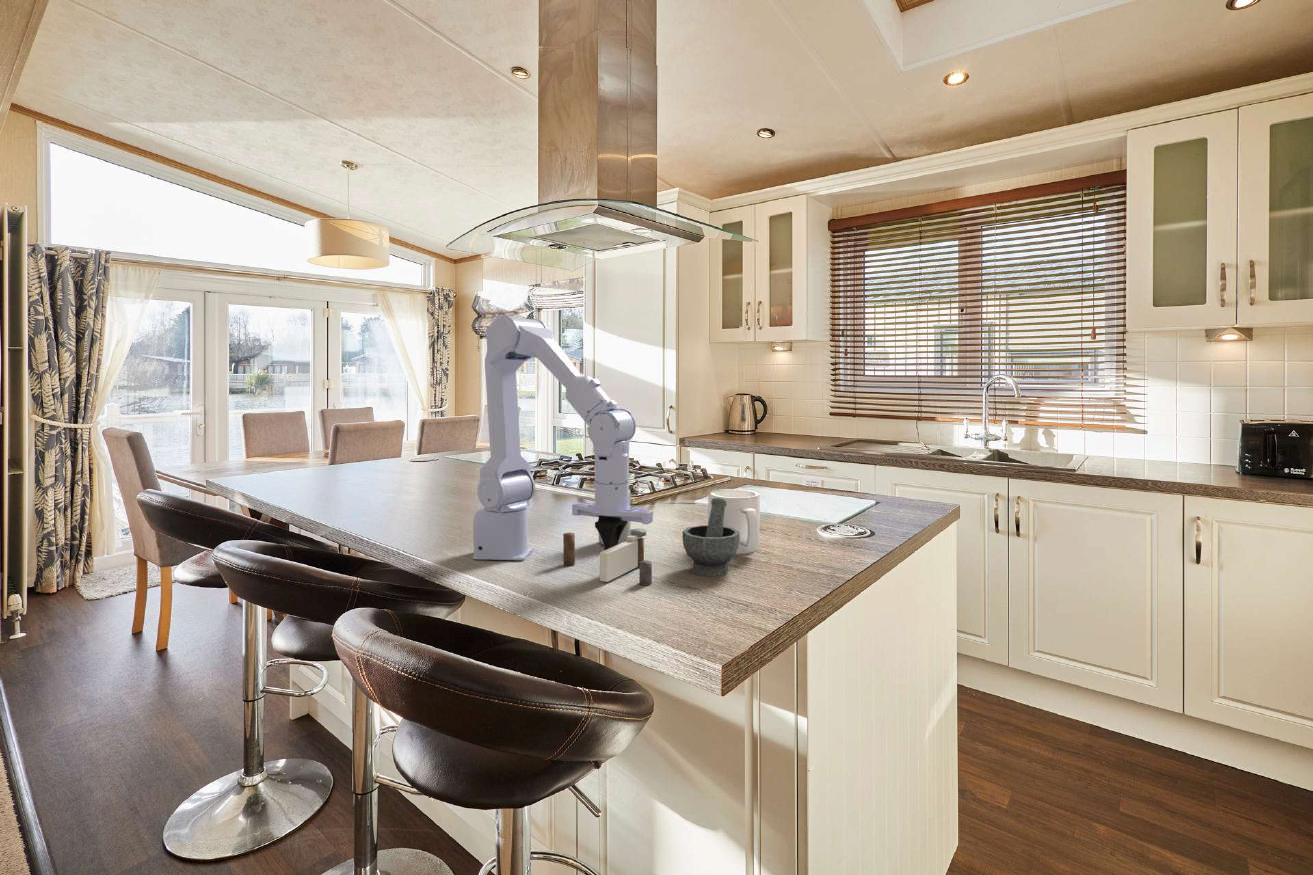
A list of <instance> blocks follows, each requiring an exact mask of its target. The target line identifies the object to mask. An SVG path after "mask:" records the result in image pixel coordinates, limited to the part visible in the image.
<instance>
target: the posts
mask: <svg viewBox="0 0 1313 875" xmlns="http://www.w3.org/2000/svg"><path fill="white" fill-rule="evenodd" d="M562 536H563V538H562V540H563V548H562V549H563V550H562V551H563V553H562V554H563V565H564V566H565V567H567V566H568V567H570V566H571V567H572V566H575V564H576V555H575V554H576V552H575V550H576V548H575V546H576V541H575V540H576V539H575V537H576V535H575V533H574V532H565V533H563V535H562ZM652 566H653V562H652V561H651V560H645V538H644V537H642V538H640V539H638V567H637V568H639V574H638V575H639V585H641V586H650V585H652V584H653V582H652V581H653V578H652V577H653V576H652V575H653V574H652V572H653V571H652V570H653V569H652V568H653V567H652Z"/></svg>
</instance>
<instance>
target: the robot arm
mask: <svg viewBox="0 0 1313 875" xmlns="http://www.w3.org/2000/svg"><path fill="white" fill-rule="evenodd" d="M485 334H486V337H485V338H486V354H485V358H484V373H485V374H484V375H485V389H486V390H485V391H486V405H487V406H486V407H487V418H488V419H487V420H488V422H487V423H488V436H489V437H488V438H489V452H490V454H489V455H490V457H489V458H488V459H487V460H486V462H485V463H483V465H482V466H481V468H480V469H479V482H478V485H477V492H476V493H477V497H478V500H479V502H480V504H481V505H482V506H483V507H479V508H477V509H476V510H475V513H474V517H473V523H472V524H473V525H472V528H473V529H472V531H473V532H472V533H473V536H472V537H473V556H472V559H473V560H494V561H495V560H497V561H524V560H525V559H526V558H527V557H528V556H529V554H530V553H531V552H532V551H534V546H529V545H528V514H527V513H528V508H527V507H529V506H530V500H531V499H532V498H533V497H534V494H535V493H536V483H535V479H534V478H533V475H532V471H531V464H530V462H528V460H526V459H525V458H524V457H523V455H522V452H521V450H522V449H521V439H520V438H521V435H520V433H521V432H520V421H519V416H520V415H519V405H518V404H519V402H518V401H519V400H518V388H517V387H518V384H517V371H518V370H519V369H520V367H521V366H523V364H524V363H526V362H527V361H528V360H530V359H532V358H536V359H537V360H538V361H540V363H541V364H542V365H543V366H544V367H545V368H546V369H547V370H548V371H549V372H550V373H551V374H552V375H553V376H554V378H555V379H556V380H558V382H559V383H560V384H561V385H562V386H563V387H564V389H565V394H564V396H565V400H566V401H567V402H568V403H569V404H570V405H571V407H572V408H573V409H574V411H575V412H576V413H577V414H578V415H579V416H580V418H581V419H582V420H583V421H584V423H585V424H586V425H587V426H588V427H587V429H586V430H587V434H588V437H589V439H590V442H592V445H593V446H592V447H593V448H592V449H593V451H592V452H593V453H594V502H574V503H572V504H571V515H572V516H584V517H585V516H586V517H593V518H598V519H597V521H595V522H594V528H596V530H597V532H598V535H599V534H600V536H601V538H602V541H603V543H604V545H603V551H604V550H606V549H609V548H611V547H614V546H616V545H618V541H619V539H620V536H621V534H622V532H623V530H624V528H625V526H626V524H627V521H630V522H634V523H641V524H642V525H649V524H652V523H653V522H654V518H653V517H654V516H653V515H654V514H653V512H654V511H653V510H650V509H643V508H639V507H636V506H631V505H630V506H629V490H630V487H629V486H630V480H629V479H630V441H631V440H632V438H633V437H634V436H635V433H636V431H637V425H636V419H635V418H634V416H633V415H632V412H631V411H630V410H628V409H625V408H619V406H618V404H617V402H616V401H615V400H612V399H611V398H610V397H609V395H607V393H606V392H605V391H604V390H603V389H602V387H601V384H602V383H601V381H599V379H598V378H593V377H592V376H589V375H584V376H583V375H581V373H580V371H579V370H578V369H577V368H576V366H575V365H574V364H573V363H572V361H571V359H570V358H569V357H568V355H567V354H566V353H565V352H564V350H563V349H562V348H561V346H560V344H558V342H557V341H556V339H555V336H554V332H553V331H552V330H551V329H550V328H549V327H548V326H547V325H546V323H545V322H544V321H543V320H541V319H538V318H531V319H530V318H522V317H513V316H509V315H505V314H502V315H499V316H497V317H495V318H494V319H493V321H492V322H491V323H489V325H488V326H487V328H486V329H485Z"/></svg>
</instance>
